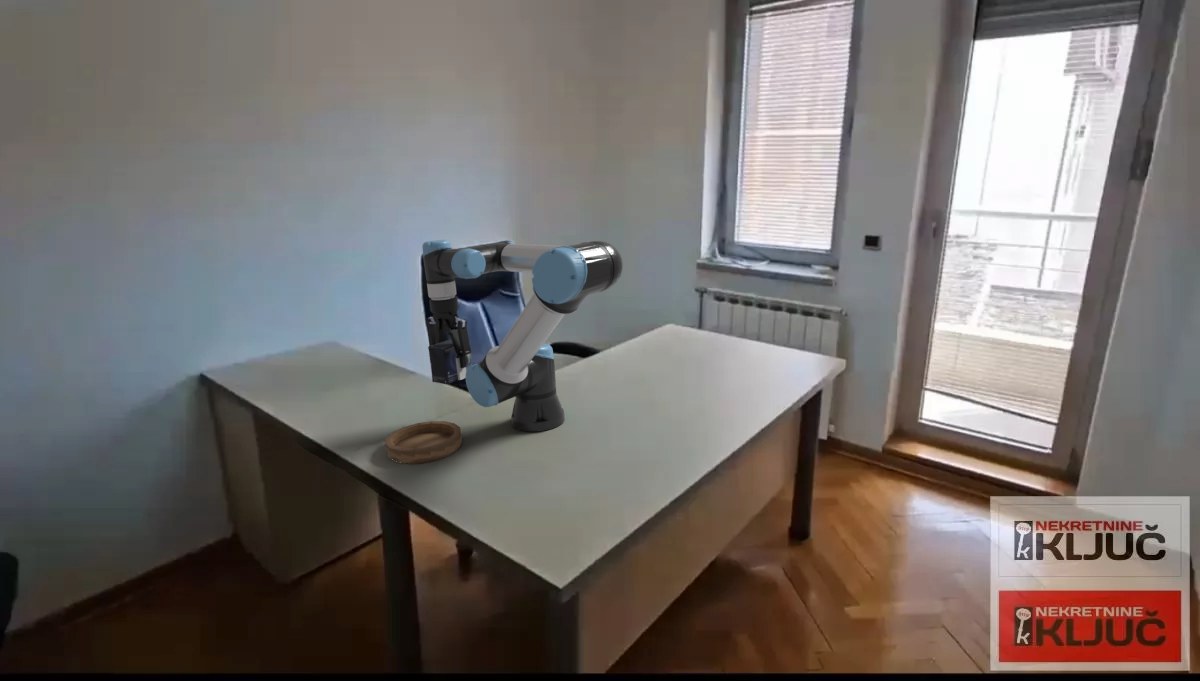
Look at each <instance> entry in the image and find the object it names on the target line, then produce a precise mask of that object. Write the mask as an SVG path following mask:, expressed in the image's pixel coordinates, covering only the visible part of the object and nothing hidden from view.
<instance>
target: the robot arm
mask: <svg viewBox="0 0 1200 681" xmlns="http://www.w3.org/2000/svg"><path fill="white" fill-rule="evenodd" d="M421 247H422V259H423V260H422V261H423V265H424V274H425V279H426V286H427V294H428V295H427V296H428V297H429V302H428V303H429V309H430V312H431V313H432V315H431V316H430V317H427V318H425V322H426V325H427V335H428V346H431V345H434V344H437V343H441V342H444V341H446V334H447V335H448V336H449V337H450V339H451V340H452V343H453V345H454V348H455V351H456V353H457V356H456V366H457V374H458V380H457V381H461V380H464V379H465V383H466V387H467V390H468V393H469V395H470V397H472V399H473V400H474V402H476V403H477V405H478V406H481V407H483V408H489V407H490V408H491V407H494V406H497V405H498V404H501V403H503V402H506V401H509V400H511V399H513V398H514V402H513V403H514V404H513V408H512V412H511V418H510V420H511V426H512V427H513V428H514V429H515V430H518V431H523V432H530V433H531V432H543V431H548V430H552V429H554V428H557V427H559V426H561V425H562V424H564V422H565V420H566V419H565V410H564V408H563V406H562V404H561V401H560V399H559V397H558V393H557V385H556V384H557V383H556V380H557V379H556V368H555V357H554V351H553V347H552V346H551V345H550V344H548V343H546V340H548V338H549V336H550V335H551V334H552V332H553V331H554V329H555V328H556V327H557V326H558V324H559V323H560V322H561V321H562V319H563V318H564V316H565V315H566V316H568V315H571V314H573V313H575V312H576V311H577V310H578V309H579V307H580V306H581V304H582V303H583V302H584V301H585V299H586V298H587V297H589V296H590V295H594V294H597V293H601V292H604V291H608V290H609V289H611V288H612V287H614V286H615V285H616V284H617V283H618V281H619V280H620V278H621V276H622V273H623V258H622V256H621V254H620V252H619V251H618V249H617V248H616V247H615V246H614V245H613V244H611V243H609V242H607V241H602V240H594V241H593V240H592V241H588V242H587V241H585V242H580V243H578V244H572V245H561V244H559V245H558V244H557V245H556V244H555V245H553V244H534V243H533V244H532V243H531V244H529V243H515V242H514V241H500V242H495V243H488V244H482V245H478V246H477V245H475V246H469V247H462V248H452V246H451V242H450V241H449V240H447V239H436V240H435V239H434V240H428V241H425V242H423V243H422V246H421ZM494 272H514V273H526V274H528V273H529V274H532V275H533V277H532V278H531V283H532V291H533V295H532V296H531V297H530V299H529V301H528V302H527V303H526V305H525V307H524V308H523V309H522V311H521V312H520V314H519V315H518V317H517V319H516V320H515V321H514V323H513V324H512V326H511V328H510V329H509V330H508V332H507V333H506V335H505V336H504V338H503V340H502V341H501V342H500V344H499V345H496V346H494V347H491V348H490V349H489V351H488V352H486V355H485V356H484V357H483V359H482V360H481V361H480V362H478V363H472V366H470V367H469V368H468V369H467V371H466V367H467V363H466V355H468V354H470V353H471V354H472V350H471V343H469V340H470V339H469V333H468V326H467V325H468V320H467V319H466V318H463V319H462V318H460V317H459V315H458V310H459V302H458V301H459V299H458V297H457V286H456V285H457V284H456V278H457V279H458V278H459V279H465V280H468V279H477V278H478V277H480V276H481V275H483V274H489V273H494Z"/></svg>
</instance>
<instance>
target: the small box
mask: <svg viewBox="0 0 1200 681" xmlns="http://www.w3.org/2000/svg"><path fill="white" fill-rule="evenodd" d="M469 343H470V339H469ZM470 344H471V343H470ZM427 348H428V356H429V363H430V370H431V380H432V383H436V384H444V385H450V384H452V383H455V382H456V381H459V380H458V374H457V366H456V356H457V353H456V351H455V348H454V345H453V343H452V340H451V338H450V339H447V340H445V341H444V342H441V343H437V344H434V345H431V346H429V345H428V347H427ZM472 360H473V358H472V352H471V353H470V354H468V355H466V363H467V367H466V371H467V369H468V368H469V367H470V366H472V365H473V361H472Z"/></svg>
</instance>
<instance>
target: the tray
mask: <svg viewBox="0 0 1200 681" xmlns="http://www.w3.org/2000/svg"><path fill="white" fill-rule="evenodd" d="M384 444H385V449H386V453H387V457H388V456H389V457H390V458H391V459H393V460H395V461H397V462H401V463H400V464H402V463H408V464H407V465H418V464H419V465H420V464H427V463H431V462H436V461H438V460H439V461H440V460H441V459H445V458H447V457H450V456H451V455H453V454H455V453H456V452H457V451H459V449H460V448H461V447H462V444H463V440H462V430H461V426H459V425H458V424H456V423H455V422H450V421H445V420H431V421H430V420H429V421H423V422H422V421H421V422H416V423H414V424H413V423H412V424H410V425H406V426H403V427H401V428H399V429H396V430H395V431H393V432H392V433H390V435H388V436H387V437H386V439H385V442H384ZM389 457H388V458H389ZM390 458H389V459H390ZM391 459H390V460H391ZM397 462H396V463H397Z"/></svg>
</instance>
